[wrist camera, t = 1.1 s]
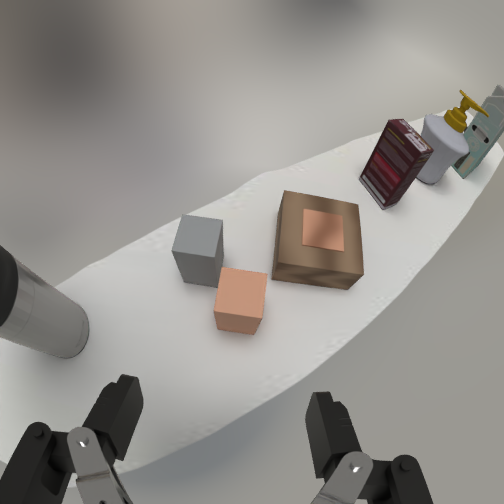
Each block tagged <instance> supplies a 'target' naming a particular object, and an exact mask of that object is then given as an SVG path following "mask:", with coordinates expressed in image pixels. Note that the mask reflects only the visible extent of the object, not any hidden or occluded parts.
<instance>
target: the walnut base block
mask: <svg viewBox="0 0 504 504" xmlns="http://www.w3.org/2000/svg"><path fill="white" fill-rule="evenodd" d="M363 275H364V269H363V252H362V238H361V227H360V217H359V208H358V204H353V203H348V202H344V201H339V200H334V199H329V198H324V197H319V196H313V195H308V194H302V193H297V192H291V191H285V190H284V193H283V197H282V201H281V204H280V208H279V212H278V220H277V230H276V240H275V250H274V260H273V269H272V278H271V279H272V280H279V281H286V282H293V283H300V284H308V285H315V286H323V287H330V288H338V289H346V290H348V289H349V288H350V287H351V286H352V285H353V284H354V283H355V282H356V281H358V280H359V279H360V278H361V277H362V276H363Z"/></svg>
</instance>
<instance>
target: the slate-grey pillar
mask: <svg viewBox="0 0 504 504" xmlns="http://www.w3.org/2000/svg"><path fill="white" fill-rule="evenodd" d="M172 253H173V256H174V258H175V261H176V263H177V266H178V268H179V271H180V273H181V276H182V278H183V280H184V282H186V283H192V284H198V285H204V286H210V287H216V288H218V284H219V279H220V273H221V268H222V263H223V258H224V252H223V220H219V219H212V218H205V217H197V216H190V215H182V217H181V221H180V224H179V227H178V231H177V234H176V237H175V241H174V244H173V247H172Z"/></svg>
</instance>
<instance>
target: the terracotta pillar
mask: <svg viewBox="0 0 504 504" xmlns="http://www.w3.org/2000/svg"><path fill="white" fill-rule="evenodd" d="M266 282H267V274H266V273H259V272H252V271H245V270H239V269H232V268H226V267H222V269H221V274H220V279H219V285H218V290H217V295H216V301H215V306H214V315H215V319H216V324H217V328H218V329H219V330H225V331H231V332H238V333H245V334H252V335H254V334H255V332H256V330H257V328H258V326H259V324H260V322H261V320H262V315H263V307H264V299H265V291H266Z"/></svg>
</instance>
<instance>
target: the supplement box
mask: <svg viewBox="0 0 504 504" xmlns="http://www.w3.org/2000/svg"><path fill="white" fill-rule="evenodd" d="M433 151H434V150H433V148H432V147H431V146H430V145H429V144H428V143H427V142H426V141H425V140H424V139H423V138H422V137H421V136H420V135H419V134H418V133H417V132H416V131H415V130H414V129H413V128H412V127H411V126H410V125H409V124H408V123H407V122H406V121H405V120H404V119H393V120H388V122H387V124H386V127H385V128H384V130H383V132H382V134H381V136H380V138H379V140H378V143H377V145H376V147H375V148H374V150H373V152H372V155H371V156H370V158H369V160H368V162H367V164H366V166H365V168H364V170H363V172H362V174H361V176H360V177H359V180H360V181H361V182H362V184H363V185H364V186H365V187H366V189H367V190H368V191H369V192H370V194H371V195H372V196H373V197H374V199H375V200H376V201H377V203H378V204H379V205H380V207H381V208H382V209H386V208H388V207H391V206H393V205H395V204H397V203H398V201H399V200H400V199H401V197H402V196H403V194H404V193H405V192H406V190H407V189H408V188H409V186H410V185H411V183H412V182H413V181H414V179H415V178H416V176H417V175H418V174H419V172H420V171H421V169H422V168H423V166H424V165H425V163H426V162H427V161H428V159H429V158H430V156H431V155H432V153H433Z"/></svg>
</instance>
